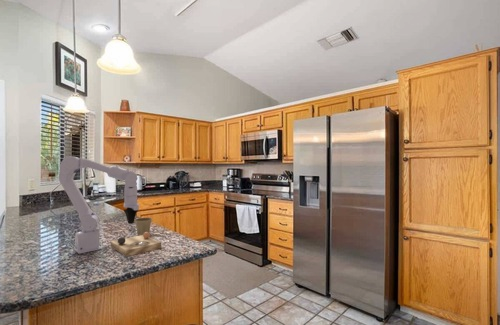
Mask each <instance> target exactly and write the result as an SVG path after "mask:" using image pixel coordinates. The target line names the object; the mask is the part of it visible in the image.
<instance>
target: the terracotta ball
mask: <svg viewBox="0 0 500 325" xmlns="http://www.w3.org/2000/svg"><path fill="white" fill-rule="evenodd" d="M150 235H151V234H150V233H149V232H145V233H144V234H143V237H144V238H145V239H147V238H149V237H151V236H150Z"/></svg>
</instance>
